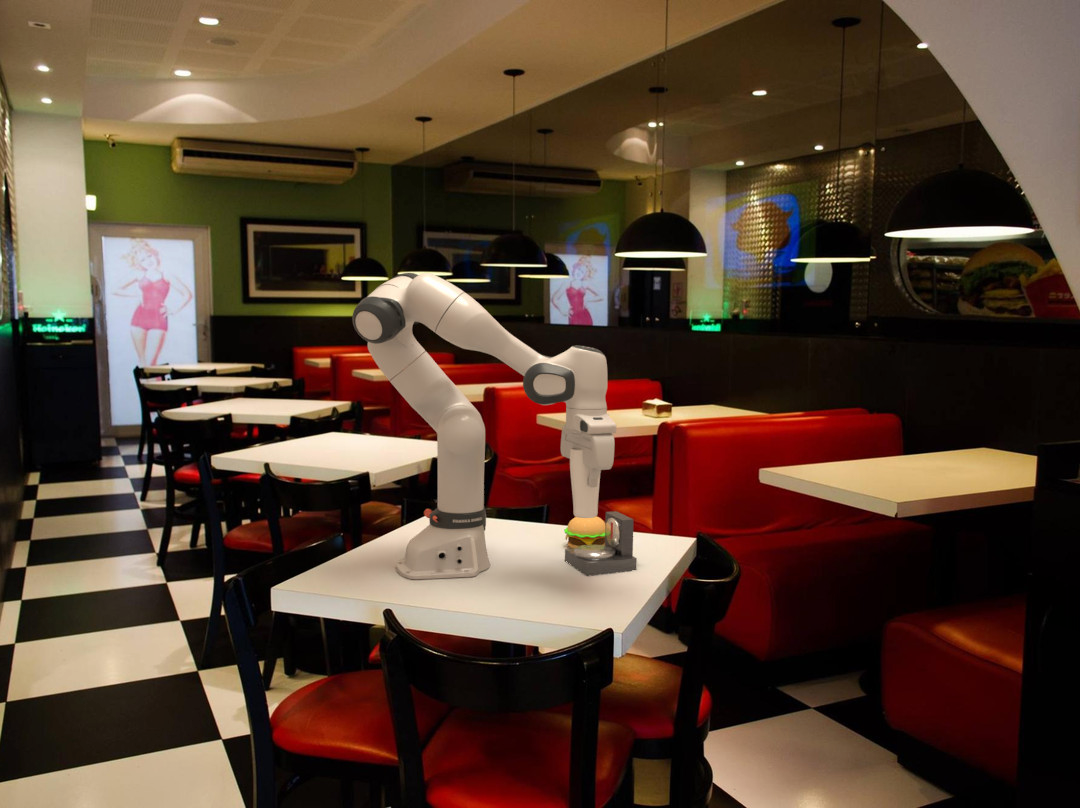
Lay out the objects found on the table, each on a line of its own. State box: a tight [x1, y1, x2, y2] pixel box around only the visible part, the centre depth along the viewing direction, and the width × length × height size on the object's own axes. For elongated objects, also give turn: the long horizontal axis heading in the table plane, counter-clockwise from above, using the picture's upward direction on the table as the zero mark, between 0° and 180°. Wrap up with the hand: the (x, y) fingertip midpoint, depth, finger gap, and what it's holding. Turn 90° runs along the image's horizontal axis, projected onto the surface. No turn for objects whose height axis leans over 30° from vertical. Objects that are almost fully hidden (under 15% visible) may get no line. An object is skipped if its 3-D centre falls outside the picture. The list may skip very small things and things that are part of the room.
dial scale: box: [564, 510, 637, 577], centre depth 205 cm, size 13×13×12 cm
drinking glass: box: [569, 448, 601, 518], centre depth 185 cm, size 7×7×15 cm
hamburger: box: [563, 515, 605, 549], centre depth 222 cm, size 12×12×9 cm
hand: (584, 483), depth 185 cm, fingers closed on drinking glass, 6 cm apart
